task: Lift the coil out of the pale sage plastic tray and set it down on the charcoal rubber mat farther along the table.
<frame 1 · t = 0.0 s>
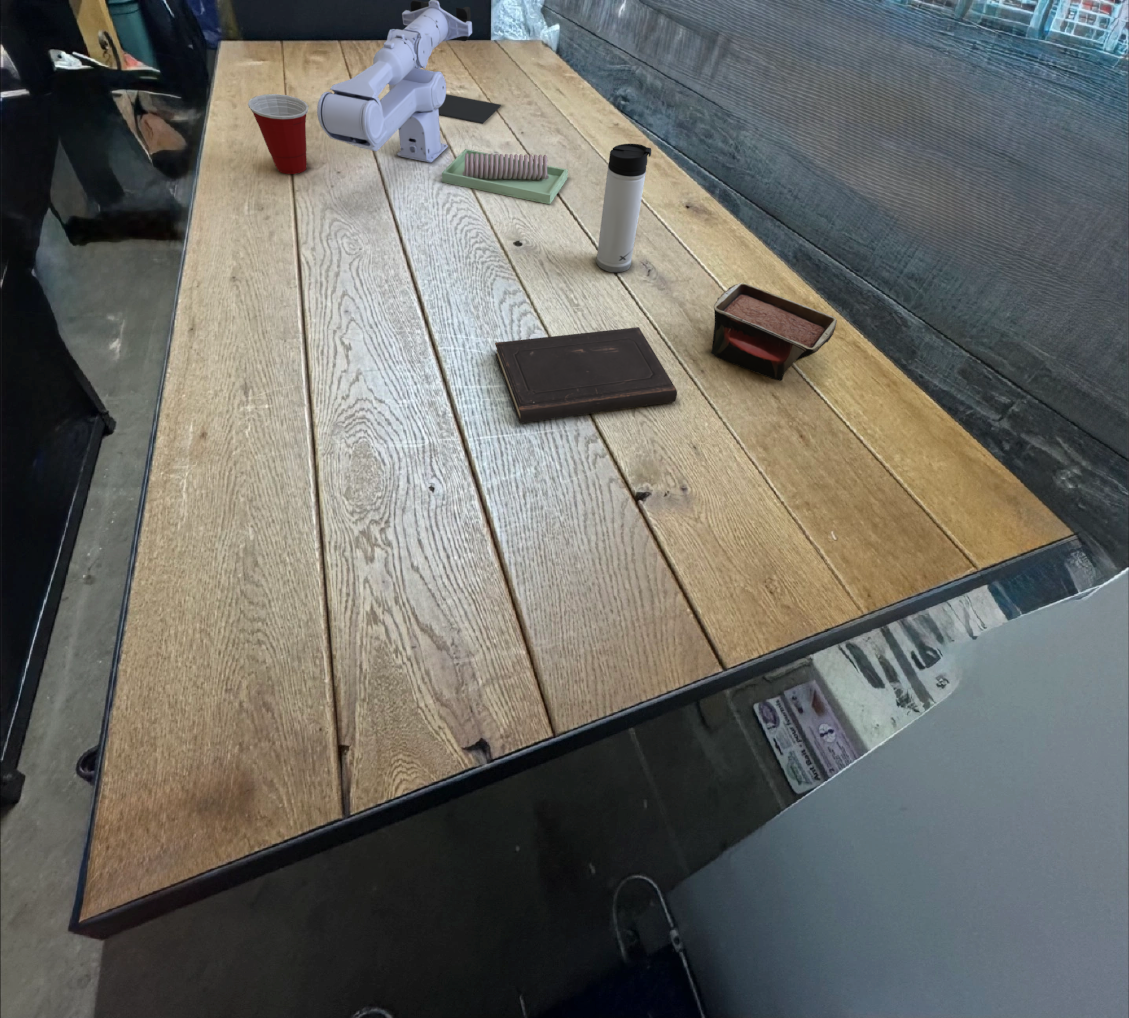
hand: (452, 9, 139), 22 cm above the table, tool horizontal, fingers open, 7 cm apart
baking dish: (759, 353, 104), on the table
tray: (506, 180, 137), on the table
plastic cup: (293, 169, 133), on the table
mat: (446, 105, 161), on the table
hardcover book: (582, 380, 96), on the table
travel mug: (614, 265, 119), on the table
coil: (506, 179, 137), resting on tray
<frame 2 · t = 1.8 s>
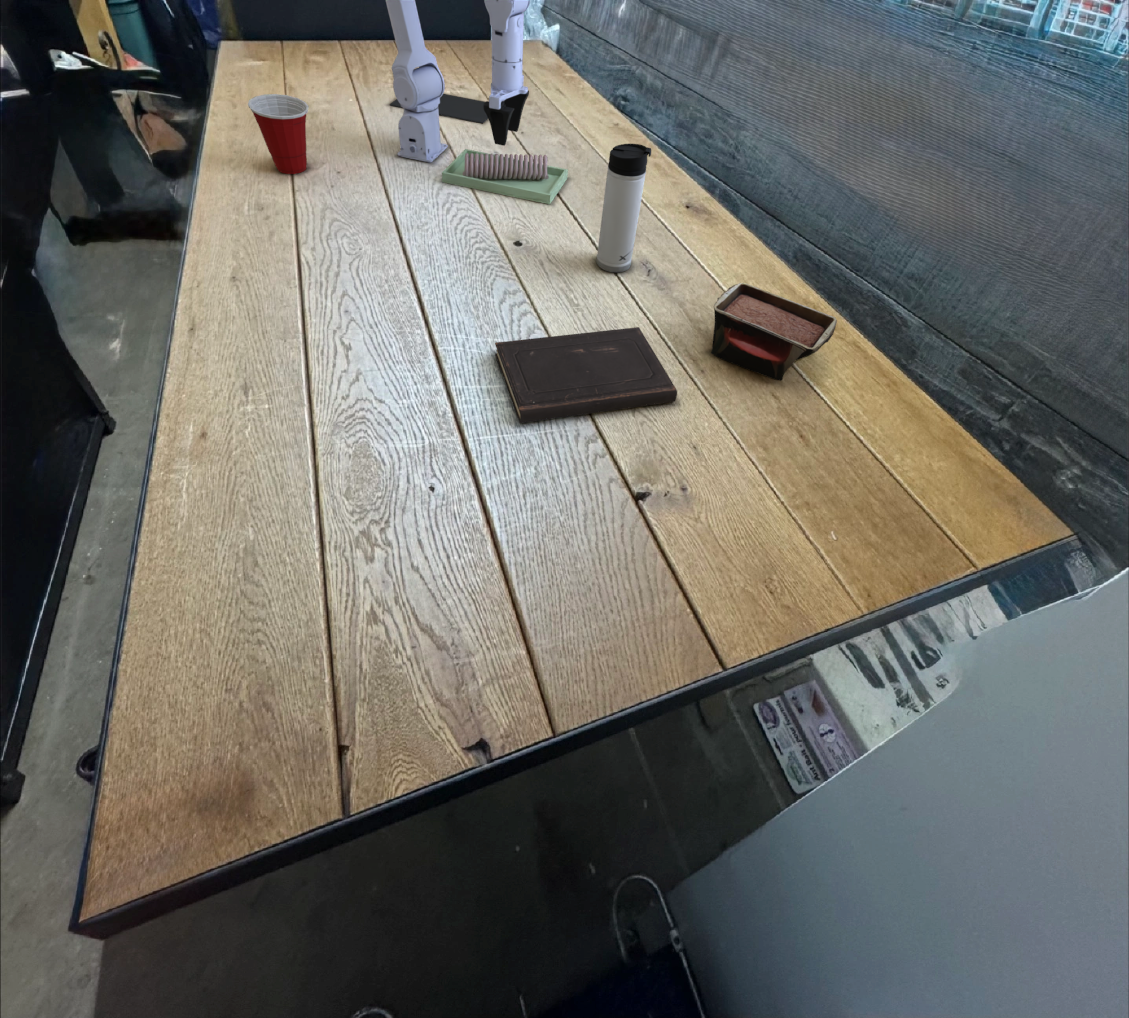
hand: (506, 137, 131), 8 cm above the table, tool pointing down, fingers open, 7 cm apart
nothing on the table moved.
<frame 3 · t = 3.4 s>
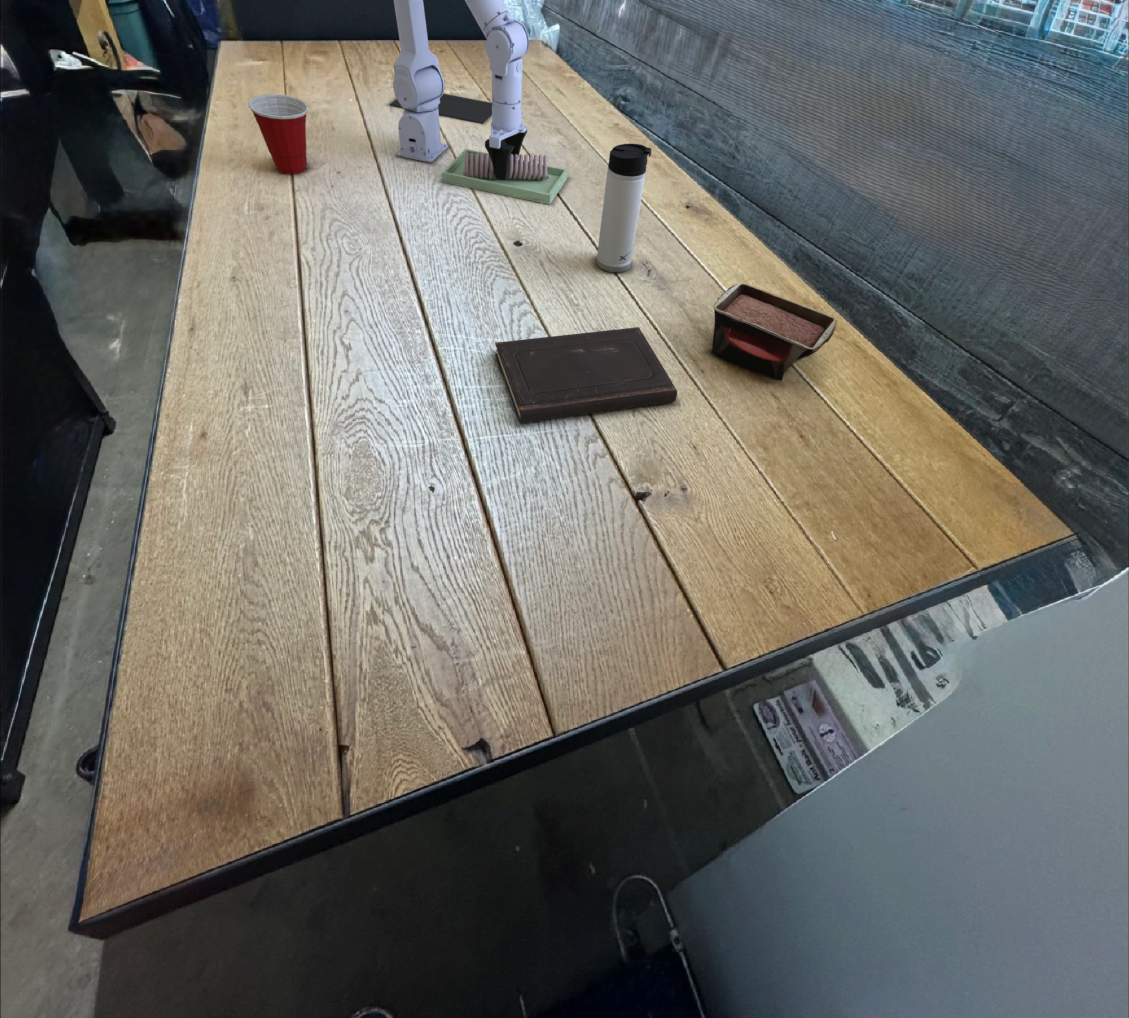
hand: (506, 172, 136), 2 cm above the table, tool pointing down, fingers closed on coil, 6 cm apart
coil: (506, 179, 137), resting on tray, touching gripper
everything else where it was.
when the fingers open (2 cm above the table, at t = 10.3 s): coil stays where it is, resting on mat.
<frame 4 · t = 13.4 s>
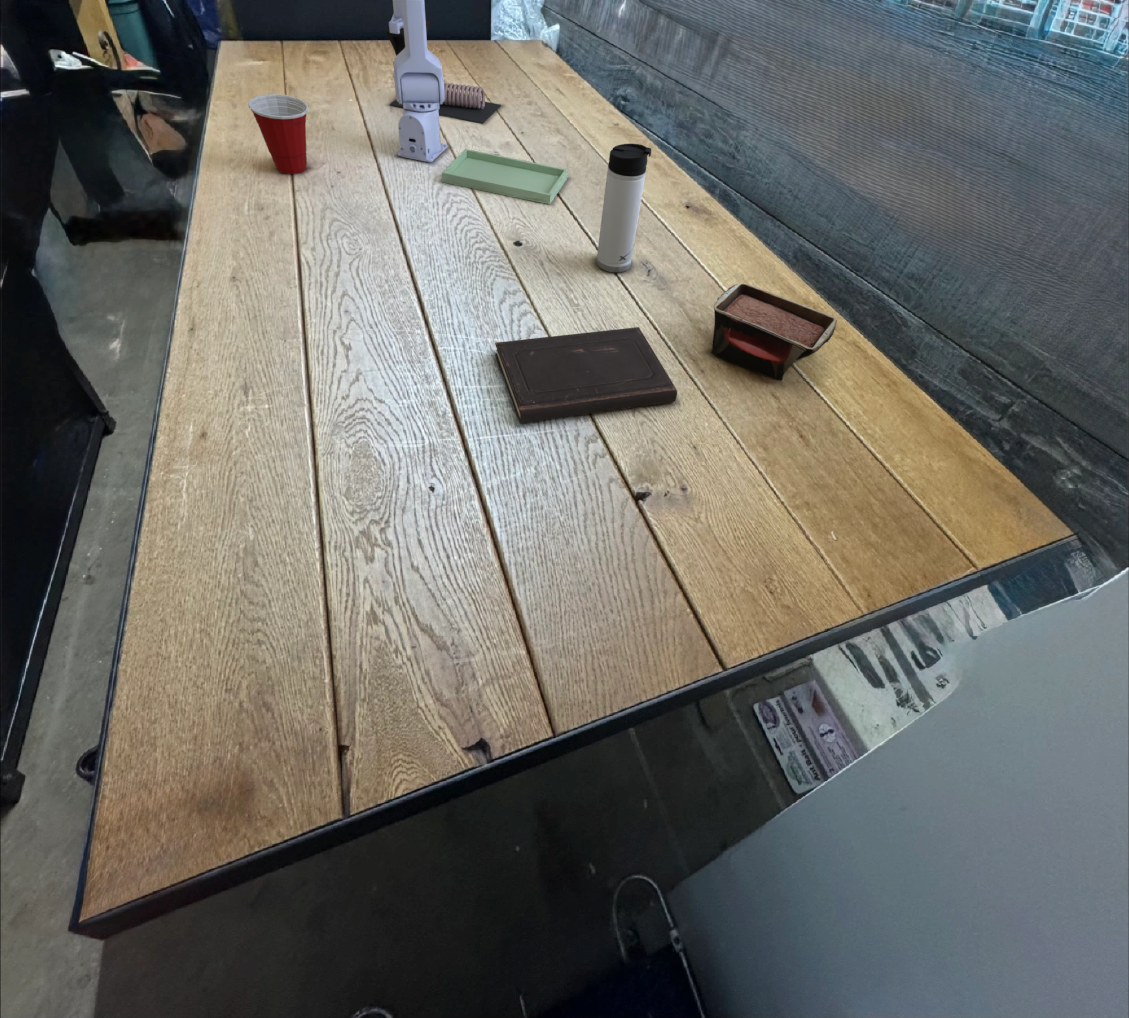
hand: (411, 62, 152), 9 cm above the table, tool pointing down, fingers open, 7 cm apart
coil: (448, 105, 161), resting on mat
everything else where it was.
at the end: coil inside the target area on the mat (0.6 cm from its centre), point 0.1 cm above the mat's base; coil touching mat; the gripper is holding nothing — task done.
